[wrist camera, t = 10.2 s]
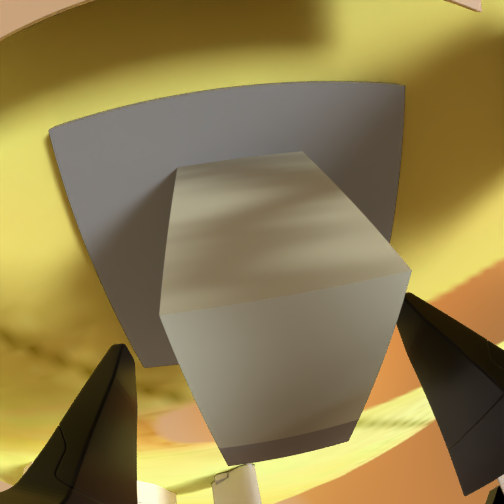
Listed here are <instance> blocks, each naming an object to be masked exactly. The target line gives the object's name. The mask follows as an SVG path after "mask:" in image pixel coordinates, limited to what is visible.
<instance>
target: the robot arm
mask: <svg viewBox="0 0 504 504" xmlns="http://www.w3.org/2000/svg"><path fill="white" fill-rule="evenodd" d="M396 324H397V327H398V330H399V333H400V335H401V338H402V341H403V344H404V347H405V349H406V352H407V355H408V357H409V359H410V361H411V364H412V366H413V368H414V370H415V372H416V374H417V377H418V379H419V381H420V383H421V385H422V388H423V390H424V392H425V395H426V397H427V399H428V401H429V404H430V406H431V408H432V411H433V413H434V416H435V418H436V420H437V423H438V425H439V428H440V430H441V433H442V435H443V438H444V441H445V443H446V446H447V448H448V451H449V454H450V456H451V459H452V462H453V465H454V468H455V470H456V473H457V476H458V479H459V482H460V485H461V488H462V491H463V494H464V496H467V495H469V494H471V493H473V492H474V491H476V490H478V489H480V488H481V487H484V486H485V485H487V484H489V483H490V482H492V481H494V480H495V479H497V480H498V482H499V485H498V486H496V487H495V488H494V489H492V490H491V491H490V492H489V495H488V498H487V501H486V504H504V350H503V349H501V348H500V347H498V346H496V345H495V344H493V343H492V342H490V341H487V339H485V338H484V337H482V336H480V335H479V334H477V333H476V332H474V331H473V330H471V329H469V328H468V327H466V326H464V325H463V324H461V323H460V322H458V321H457V320H455V319H453V318H452V317H450V316H448V315H447V314H445V313H443V312H442V311H440V310H439V309H437V308H435V307H434V306H432V305H430V304H429V303H427V302H425V301H424V300H422V299H420V298H419V297H417V296H415V295H414V294H412V293H409V292H408V293H405V297H404V300H403V303H402V307H401V310H400V313H399V316H398V319H397V322H396ZM59 425H60V426H58V427H57V428H56V430H55V432H54V433H53V435H52V436H51V438H50V439H49V441H48V442H47V444H46V445H45V447H44V448H43V450H42V451H41V452H40V454H39V455H38V456H37V458H36V459H35V460H34V462H33V463H32V464H31V466H30V467H29V468H28V470H27V471H26V472H25V474H24V475H23V476H22V478H21V479H20V480H19V481H18V482H17V483H16V484H15V485H14V486H13V487H11V488H9V489H8V490H5V491H3V492H0V504H138V499H137V392H136V376H135V362H134V359H133V357H132V355H131V354H130V352H129V350H128V348H127V347H126V345H125V344H114V345H112V346H111V347H110V349H109V350H108V351H107V353H106V354H105V356H104V357H103V359H102V360H101V362H100V363H99V365H98V366H97V367H96V369H95V370H94V372H93V373H92V375H91V376H90V378H89V379H88V381H87V382H86V384H85V385H84V387H83V388H82V390H81V391H80V393H79V394H78V396H77V397H76V399H75V400H74V402H73V403H72V405H71V407H70V408H69V410H68V411H67V413H66V414H65V416H64V417H63V419H62V421H61V422H60V424H59Z"/></svg>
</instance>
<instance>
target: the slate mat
mask: <svg viewBox="0 0 504 504" xmlns="http://www.w3.org/2000/svg"><path fill="white" fill-rule="evenodd" d="M404 106H405V86H404V85H400V84H395V83H380V82H358V81H306V82H283V83H268V84H255V85H245V86H235V87H227V88H219V89H211V90H204V91H198V92H191V93H185V94H179V95H174V96H168V97H163V98H158V99H153V100H149V101H144V102H139V103H135V104H131V105H126V106H122V107H118V108H114V109H111V110H107V111H103V112H99V113H96V114H92V115H89V116H85V117H82V118H79V119H76V120H72V121H69V122H66V123H63V124H60V125H57V126H54V127H53V128H51V129H49V134H50V138H51V142H52V146H53V150H54V153H55V157H56V160H57V164H58V167H59V171H60V174H61V177H62V181H63V184H64V187H65V190H66V193H67V196H68V199H69V202H70V205H71V208H72V211H73V214H74V216H75V219H76V222H77V225H78V227H79V230H80V233H81V235H82V238H83V241H84V243H85V246H86V248H87V251H88V253H89V256H90V258H91V261H92V263H93V265H94V268H95V270H96V272H97V275H98V277H99V279H100V282H101V284H102V286H103V288H104V290H105V293H106V295H107V297H108V299H109V301H110V303H111V305H112V308H113V310H114V312H115V314H116V316H117V318H118V320H119V322H120V324H121V326H122V328H123V330H124V332H125V334H126V336H127V338H128V340H129V341H130V343H131V345H132V347H133V349H134V351H135V353H136V354H137V356H138V358H139V360H140V362H141V364H142V365H143V367H144V368H149V367H159V366H168V365H177V364H179V363H178V361H177V358H176V356H175V354H174V351H173V349H172V346H171V344H170V341H169V339H168V336H167V334H166V331H165V329H164V326H163V324H162V321H161V319H160V316H159V312H160V300H161V289H162V279H163V269H164V260H165V251H166V243H167V235H168V227H169V220H170V213H171V206H172V199H173V193H174V186H175V180H176V174H177V168H178V167H184V166H190V165H196V164H202V163H209V162H215V161H222V160H230V159H237V158H245V157H253V156H261V155H270V154H279V153H289V152H300V151H303V152H304V153H305V154H306V155H307V156H308V157H309V158H310V159H311V160H312V161H313V162H314V163H315V164H316V165H317V166H318V167H319V168H320V169H321V170H322V171H323V172H324V173H325V174H326V175H327V176H328V177H329V178H330V179H331V180H332V181H333V182H334V183H335V184H336V185H337V186H338V187H339V188H340V190H341V191H342V192H343V193H344V194H345V195H346V196H347V197H348V198H349V199H350V200H351V201H352V202H353V203H354V204H355V205H356V207H357V208H358V209H359V210H360V211H361V212H362V213H363V214H364V215H365V216H366V218H367V219H368V220H369V221H370V222H371V223H372V224H373V225H374V226H375V228H376V229H377V230H378V231H379V232H380V233H381V234H382V236H383V237H384V238H385V239H386V240H387V241H388V243H389V244H390V238H391V232H392V226H393V220H394V213H395V206H396V199H397V191H398V183H399V174H400V164H401V153H402V141H403V127H404Z"/></svg>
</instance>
